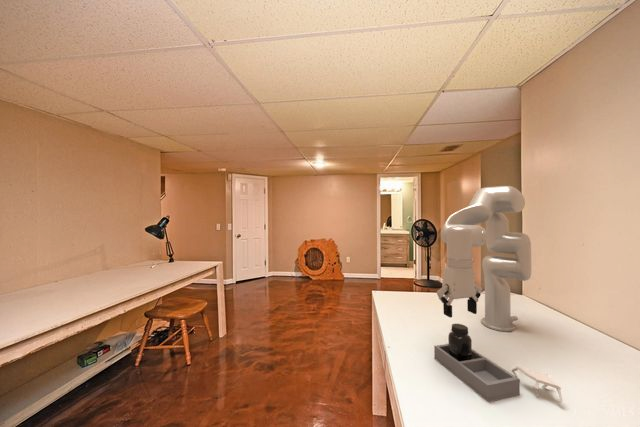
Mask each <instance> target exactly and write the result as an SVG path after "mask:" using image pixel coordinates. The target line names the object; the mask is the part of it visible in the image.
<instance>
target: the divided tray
mask: <svg viewBox="0 0 640 427" xmlns="http://www.w3.org/2000/svg"><path fill="white" fill-rule="evenodd" d="M434 360H435V361H436V362H438V363H439V364H440V365H441V366H443V367H444V368H445V369H446V370H448V371H449V372H450V373H452V374H453V375H454V376H455V377H456V378H457V379H459V380H460V381H461V382H463V384H465V385H466V386H467V387H468V388H469V389H471V390H472V391H473V392H475V394H477V395H478V396H480V398H482V399H483V400H484V401H486V402H487V403H490V402H495V401H500V400H503V399H507V398H512V397H515V396H520V395H521V394H520V393H521V392H520V391H521V390H520V389H521V388H520V387H521V386H520V385H521V384H520V382H521V378H520V377H518V376H517V377H518V378H517V377H516V376H515V375H514V373H512V372H510V371H508V370H506V369H505V368H503V367H502V366H500V365H498V364H497V363H496V362H493V361H492V360H490V359H488V358H487V357H485V356H484V355H482V354H481V353H479V352H477V351H476V350H474V349H473V348H472V360H466V361H460V362H459V361H457V360H456V359H455V358H453V357H452V356H451V355H449V354H448V343H445V344H438V345H434Z"/></svg>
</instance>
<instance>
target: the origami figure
mask: <svg viewBox="0 0 640 427" xmlns="http://www.w3.org/2000/svg"><path fill="white" fill-rule="evenodd" d="M510 371H511V373H512V374H513V375H514V376H516V377H517V378H519V377H518V375H517V373H516V371H519V372H521V373H522V374H523V375H524V376H525V377H526V376H527V377H528V378H530V379H531V380H533V381H535V383H534V385H533V388H534V392H535V397H536V398H540V396H539V390H538V389H539V384H542V385H541V388H542V389H544V390H546V391H550V389H549V388H547V387H551V388H554V389H556V391H557V393H558V397H559V400H558V399H555V400H554V402H555V404H556V405H557V406H559V405H560V404H559V403H562V402H563V397H562V390H561V386H560V385H559V384H558V383H556V382H555V381H554V380H553V379H552V378H551V377H550V376H549V373H545V372H541V371H537V370H534V369H530V368H526V367H522V366H519V365H517V366H516V367H514V368H512V369H511V370H510Z"/></svg>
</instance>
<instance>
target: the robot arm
mask: <svg viewBox="0 0 640 427" xmlns="http://www.w3.org/2000/svg"><path fill="white" fill-rule="evenodd" d="M525 205H526V200H525V196H524V195H523V193H522V192H521V191H520V190H519V189H518V188H516V187H514V186H511V185H498V186H486V187H482V188H481V187H480V188H479V189H477V191H476V192H475V193H474V195H473V197H472V198H471V200H470V202H469V204H468V205H467V206H466V207H464V208H462V209H460V210H458V211H456V212H454V213H452V214H451V215H450V216H448V218H447V219H446V220H445V222H444V224H443V225H442V228H441V231H440V237H441V240H442V241H443V243H445V244H446V266H444V269H443V274H442V286H441V287H440V288H439V289H438V290H437V291H436V292H435V293H436V295H437V296H438V299H439V300H440V301H441V303H442V304H443V305H442V306H443V307H442V308H443V315H444V316H446V317H448V318H453V304H452V303H453V301H454V300H460V299H466V298H467V304H466V305H467V306H466V307H467V312H468V313H471V314H473V315H477V313H478V312H477V310H478V309H477V308H478V307H477V306H478V304H477V303H478V302H479V298H480V297H481V294H482V291H483V287H482V286H480V285H478V284H477V280H476V273H475V268H474V267H473V265H474V264H473V263H474V262H475V260H474V259H473V247H474V248H475V247H482V246H483V245H485V244H486V249H487V250H488V251H489V252H492V253H498V254H507V255H508V254H509V255H515V256H516V257H512V256H505V255H496V254H495V255H494V254H493V255H492V254H491V255H486V256H485V257H483V259H482V261H481V263H482V271H483V272H482V273H483V276H484V317H482V318H481V319H480V323H481V325H483V326H484V327H487V328H489V329H491V330H495V331H500V332H513V331H515V330H516V325H515V324H513V322H515V321H519V318H518V316H517V315H513V316H511V314H512V313H511V287H510V284H509V283H508V282H507V280H506V279H508V280H514V281H523V282H526V281H528V280H530V279H531V275H532V243H531V239H530V237H529V235H528V234H526V233H524V232H511V231H510V221H509V219H508V218H507V216H506V215H505V214H504V213H507V214H508V213H510V214H511V213H512V214H513V213H520V212H522V211H523V210H524V208H525ZM482 223H485V227H483V226H481V225H478V224H482ZM451 304H452V305H451Z"/></svg>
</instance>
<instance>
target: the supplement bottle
mask: <svg viewBox="0 0 640 427" xmlns="http://www.w3.org/2000/svg"><path fill="white" fill-rule="evenodd" d="M450 330H451V331H450V332H449V333H448V336H447V338H448V343H447V344H448V354H449V355H451V356H452V357H453V358H455V359H456V360H457V361H459V362H460V361H466V360H472V349H473V348H472V344H473V342H472V338H471V336H470V335H469V327H468V326H466V325H465V324H461V323H452V324H451V329H450Z"/></svg>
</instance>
